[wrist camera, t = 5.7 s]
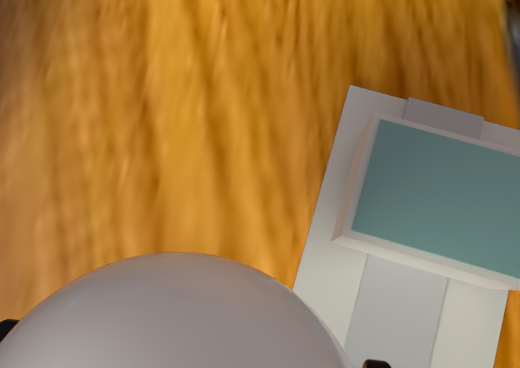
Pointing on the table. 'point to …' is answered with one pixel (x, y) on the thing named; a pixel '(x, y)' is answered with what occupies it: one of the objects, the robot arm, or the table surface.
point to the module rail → (414, 233)
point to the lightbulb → (173, 320)
